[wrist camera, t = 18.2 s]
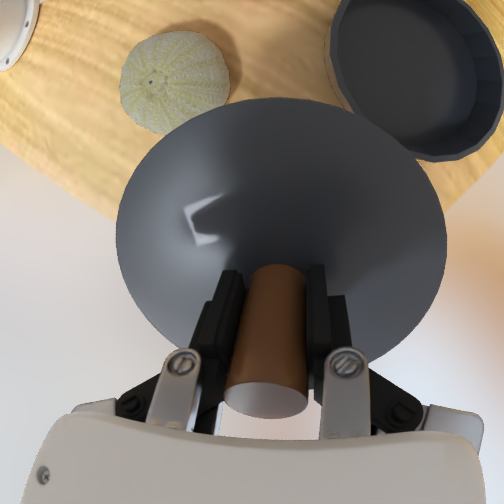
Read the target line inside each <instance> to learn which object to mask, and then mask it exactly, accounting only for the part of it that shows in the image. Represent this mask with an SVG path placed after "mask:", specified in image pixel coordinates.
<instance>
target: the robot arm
mask: <svg viewBox="0 0 504 504" xmlns="http://www.w3.org/2000/svg"><path fill="white" fill-rule="evenodd" d="M38 12H39V0H0V72H2V71H5V70H7V69H9V68H10V67H12V66H13V65H14V64H15V63H16V62H17V60H18V59H19V58H20V56H21V55H22V53H23V52H24V50H25V48H26V46H27V44H28V42H29V40H30V38H31V36H32V33H33V31H34V28H35V24H36V21H37V17H38ZM245 295H246V288H245V284H244V280H243V275H242V273H238V271H237V270H236V269H234V270H223V271H222V273H221V276H220V279H219V282H218V284H217V287H216V290H215V293H214V296H213V298H212V301H206V302H205V304H204V306H203V309H202V311H201V314H200V317H199V319H198V322H197V325H196V328H195V330H194V333H193V336H192V338H191V341H190V344H189V347H188V348H180V349H178V350H175V351H173V352H172V353H170V354H169V356H168V357H167V358H166V360H165V362H164V364H163V367H162V370H161V373H159V374H157V375H156V376H154V377H152V378H150V379H149V380H147V381H145V382H143V383H142V384H140V385H138V386H136V387H134V388H132V389H131V390H129V391H127V392H125V393H124V394H123V395H122V396H121V397H120V398H119V399H118V400H117V399H116V398H111V399H107V400H101V401H96V402H90V403H84V404H80V405H77V406H76V407H75V408H74V409H73V410H72V412H71V413H70V414H66V415H64V416H62V417H60V418H59V419H58V420H57V421H56V422H55V423H54V425H53V426H52V427H51V429H50V431H49V432H48V434H47V436H46V438H45V440H44V442H43V444H42V446H41V448H40V450H39V452H38V455H37V457H36V459H35V462H34V465H33V467H32V470H31V473H30V475H29V478H28V481H27V484H26V487H25V490H24V493H23V497H22V501H21V504H486V497H485V487H484V479H483V473H482V468H481V465H480V460H479V457H478V455H479V451H480V447H481V442H482V437H483V432H484V423H483V420H482V419H481V417H480V416H479V415H478V414H475V413H472V412H466V411H461V410H456V409H451V408H446V407H441V406H437V405H432V404H430V406H425V405H421V403H420V401H419V400H417V399H416V398H415V397H414V396H412V395H410V394H409V393H407V392H406V391H404V390H402V389H401V388H399V387H398V386H396V385H394V384H393V383H391V382H390V381H388V380H387V379H385V378H384V377H382V376H381V375H379V374H377V373H376V372H374V371H373V370H371V369H370V368H368V360H367V357H366V355H365V354H364V353H363V352H362V351H361V350H359V349H357V348H354V347H352V339H351V332H350V325H349V318H348V311H347V305H346V299H345V295H334V296H327V286H326V276H325V267H324V264H315V265H311V268H308V269H306V343H307V365H308V368H309V389H314V400H315V401H316V402H317V403H319V404H320V405H321V406H322V409H321V421H320V432H319V440H266V439H264V440H263V439H248V438H235V437H225V436H218V434H219V428H220V421H221V415H222V408H223V401H224V399H223V395H222V394H223V390H224V385H225V381H226V377H227V373H228V368H229V364H230V360H231V355H232V351H233V347H234V343H235V338H236V334H237V330H238V325H239V321H240V317H241V313H242V308H243V304H244V300H245Z"/></svg>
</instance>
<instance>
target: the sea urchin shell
mask: <svg viewBox="0 0 504 504" xmlns="http://www.w3.org/2000/svg"><path fill="white" fill-rule="evenodd" d="M119 88H120V96H121V97H120V98H121V104H122V106H123V108H124V110H125V112H126V113H127V114H128V115H129V116H130V117H131V118H132V119H133V120H134V121H135V122H136V124H138V125H140V126H141V127H144V128H146V129H149V130H150V131H152V132H154V133H156V134H157V133H158V134H161V135H165V136H166V135H167V134H168V133H169V132H171V131H172V130H174V129H175V128H177V127H179V126H180V125H182V124H183V123H185V122H186V121H188V120H190V119H191V118H193V117H195V116H198V115H200V114H202V113H205V112H207V111H209V110H212V109H214V108H217V107H219V106H223V105H224V104H225V102H226V100H227V99H228V95H229V91H230V89H231V88H230V82H229V70H228V69H227V66H226V64H225V61H224V59H223V56H222V54H221V50H219V48H217V46H216V45H215V44H214V43H213V42H212V41H211V40H210V39H209V38H207V37H206V36H204V35H202V34H200V33H198V32H193V31H179V30H176V31H173V32H168V33H162V34H156V35H153V36H152V37H149V38H148V39H146V40H143V41H142V42H139V43H138V44H137V45H136V46H135V47H134V48H133V49H132V51H130V53H129V56H128V58H127V60H126V62H125V64H124V66H123V67H122V73H121V80H120V86H119Z"/></svg>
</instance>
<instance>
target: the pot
mask: <svg viewBox="0 0 504 504" xmlns="http://www.w3.org/2000/svg"><path fill="white" fill-rule="evenodd" d="M324 62H325V66H326V70H327V74H328V78H329V80H330V83H331V87H332V89H333V90H334V92H335V94H336V96H337V98H338V99H339V101H340V103H341V104H342V106H343V107H344V109H345V110H347V111H349V112H351V113H354V114H356V115H358V116H360V117H363V118H365V119H367V120H368V121H370V122H372V123H373V124H375V125H376V126H378V127H379V128H381V129H382V130H384V131H385V132H387V133H388V134H390V135H391V136H392V137H393V138H395V139H396V140H397V141H398V142H399V143H400V144H401V145H402V146H403V147H404V148H405V149H406V150H407V151H409V152H410V153H411V154H412V156H413V157H414V158H416V159H420V160H424V161H428V162H433V163H435V162H444V161H455V160H459V159H461V158H463V157H465V156H467V155H469V154H471V153H473V152H475V151H477V150H479V149H480V148H481V147H482V146H483V145H484V144H485V142H486V141H487V140H488V139H489V138H490V137H491V136H492V135H493V134H494V132H495V130H496V128H497V126H498V123H499V121H500V118H501V116H502V113H503V111H504V110H503V109H504V68H503V63H502V58H501V55H500V53H499V50H498V48H497V46H496V44H495V42H494V40H493V37H492V35H491V33H490V31H489V30H488V28H487V27H486V25H485V24H484V23H483V22H482V20H481V19H480V18H479V17H478V15H477V14H476V13H475V12H474V11H473V9H472V8H471V7H470V6H469V5H468V4H467V3H465V2H464V1H463V0H341V2H340V4H339V6H338V8H337V10H336V12H335V14H334V16H333V18H332V21H331V23H330V25H329V27H328V29H327V32H326V35H325V45H324Z"/></svg>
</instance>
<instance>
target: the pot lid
mask: <svg viewBox="0 0 504 504" xmlns="http://www.w3.org/2000/svg"><path fill="white" fill-rule="evenodd" d="M116 248H117V256H118V262H119V265H120V269H121V272H122V276H123V279H124V281H125V283H126V286H127V288H128V290H129V292H130V294H131V296H132V298H133V299H134V301H135V303H136V305H137V306H138V308H139V309H140V310H141V312H142V313H143V314H144V316H145V317H146V318H147V320H148V321H149V322H150V323H151V324H152V325H153V326H154V327H155V328H156V329H157V330H158V331H159V332H160V333H161V334H162V335H163V336H164V337H165V338H166V339H168V340H169V341H170V342H171V343H173V344H174V345H175V346H177V347H178V348H179V349H180V348H188V347H189V344H190V341H191V338H192V336H193V333H194V330H195V328H196V325H197V322H198V319H199V317H200V314H201V311H202V309H203V306H204V304H205V302H206V301H212V298H213V296H214V293H215V290H216V287H217V284H218V282H219V279H220V276H221V273H222V271H223V270H234V269H236V270H237V271H238V273H242V275H243V280H244V284H245V288H246V295H245V300H244V304H243V308H242V313H241V317H240V321H239V325H238V330H237V334H236V338H235V343H234V347H233V351H232V355H231V360H230V364H229V368H228V373H227V377H226V381H225V385H224V390H223V394H222V395H223V399H224V401H225V403H226V404H227V405H228V406H229V407H231V408H232V409H234V410H236V411H237V412H240V413H242V414H245V415H248V416H252V417H258V418H264V419H280V418H287V417H291V416H294V415H297V414H299V413H301V412H302V411H303V410H305V408H306V407H307V405H308V393H309V368H308V365H307V343H306V269H308V268H311V265H315V264H324V267H325V276H326V286H327V296H334V295H345V299H346V305H347V311H348V318H349V325H350V332H351V339H352V347H354V348H357V349H359V350H361V351H362V352H363V353H364V354H365V355H366V357H367V360H368V363H370V362H372V361H374V360H375V359H377V358H379V357H381V356H382V355H384V354H385V353H387V352H388V351H390V350H391V349H392V348H394V347H395V346H397V345H398V344H399V343H400V342H401V341H402V340H403V339H404V338H406V337H407V336H408V335H409V334H410V333H411V332H412V331H413V329H414V328H415V327H416V326H417V325H418V324H419V323H420V321H421V320H422V318H423V317H424V316H425V314H426V312H427V311H428V309H429V308H430V306H431V304H432V302H433V300H434V298H435V296H436V294H437V292H438V290H439V287H440V284H441V281H442V278H443V274H444V269H445V263H446V257H447V233H446V226H445V219H444V214H443V211H442V208H441V205H440V202H439V199H438V196H437V193H436V191H435V189H434V187H433V186H432V184H431V182H430V180H429V178H428V176H427V174H426V173H425V171H424V170H423V169H422V167H421V166H420V165H419V163H418V162H417V161H416V160H415V158H414V157H413V156H412V154H411V153H410V152H409V151H407V150H406V149H405V148H404V147H403V146H402V145H401V144H400V143H399V142H398V141H397V140H396V139H395V138H393V137H392V136H391V135H390V134H388V133H387V132H385V131H384V130H382V129H381V128H379V127H378V126H376V125H375V124H373V123H372V122H370V121H368V120H367V119H365V118H363V117H360V116H358V115H356V114H354V113H351V112H349V111H347V110H344V109H342V108H340V107H337V106H333V105H329V104H325V103H321V102H317V101H313V100H309V99H299V98H287V97H270V98H257V99H248V100H243V101H239V102H235V103H231V104H227V105H223V106H219V107H217V108H214V109H212V110H209V111H207V112H205V113H202V114H200V115H198V116H195V117H193V118H191V119H190V120H188V121H186V122H185V123H183V124H182V125H180V126H179V127H177V128H175V129H174V130H172V131H171V132H169V133H168V134H167V135H166V136H165V137H164V138H163V139H161V140H160V141H159V142H158V143H157V144H156V145H155V146H154V147H153V148H152V149H151V150H150V151H149V152H148V153H147V155H146V156H145V157H144V158H143V160H142V161H141V162H140V164H139V165H138V166H137V167H136V169H135V171H134V173H133V175H132V176H131V178H130V180H129V182H128V184H127V186H126V188H125V191H124V194H123V197H122V200H121V202H120V205H119V211H118V216H117V222H116Z"/></svg>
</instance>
